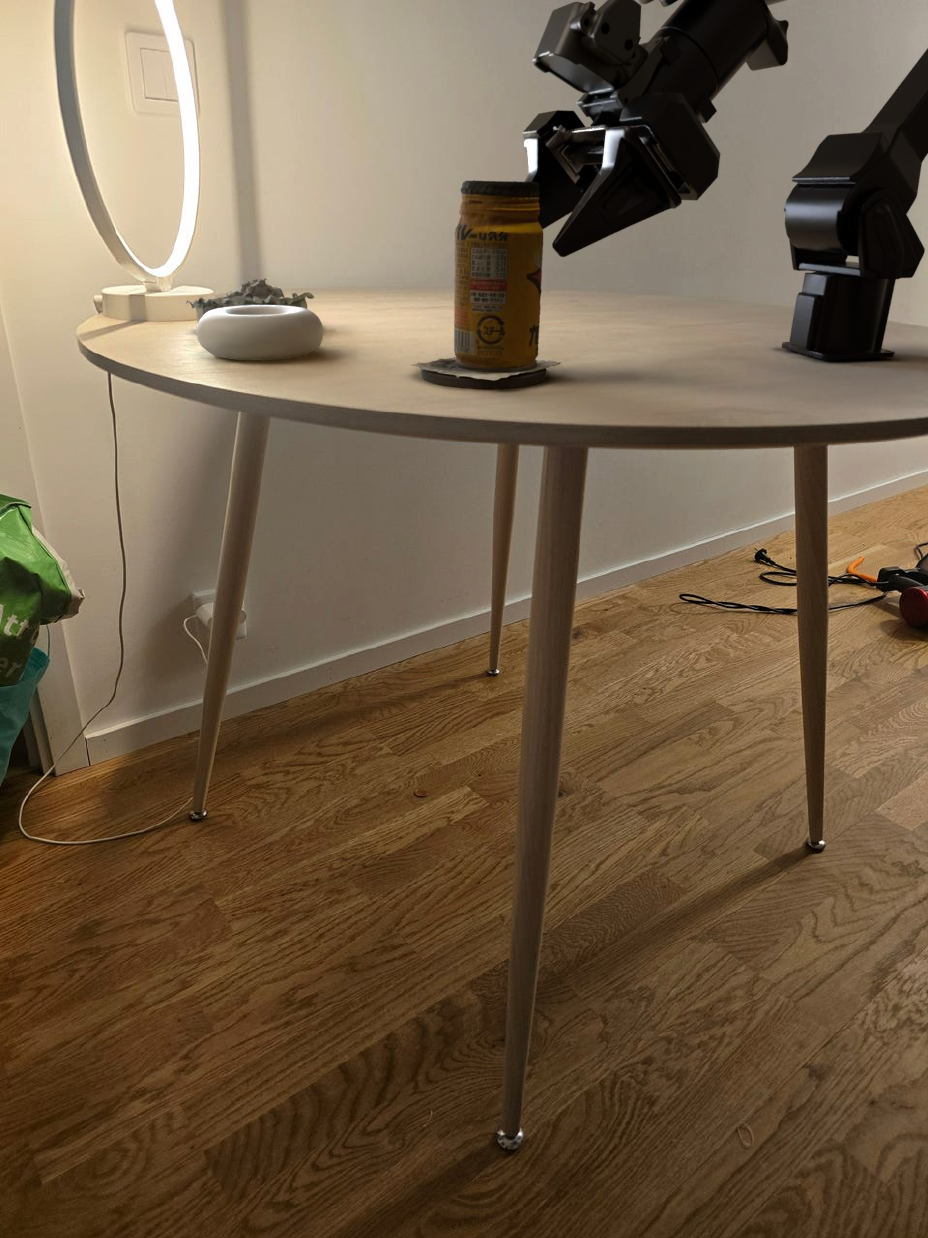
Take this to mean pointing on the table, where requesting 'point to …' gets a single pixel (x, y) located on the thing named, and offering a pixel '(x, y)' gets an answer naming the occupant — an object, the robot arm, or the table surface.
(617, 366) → the table surface
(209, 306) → the grey crumpled piece
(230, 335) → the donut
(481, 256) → the condiment
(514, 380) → the coaster
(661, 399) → the table surface
